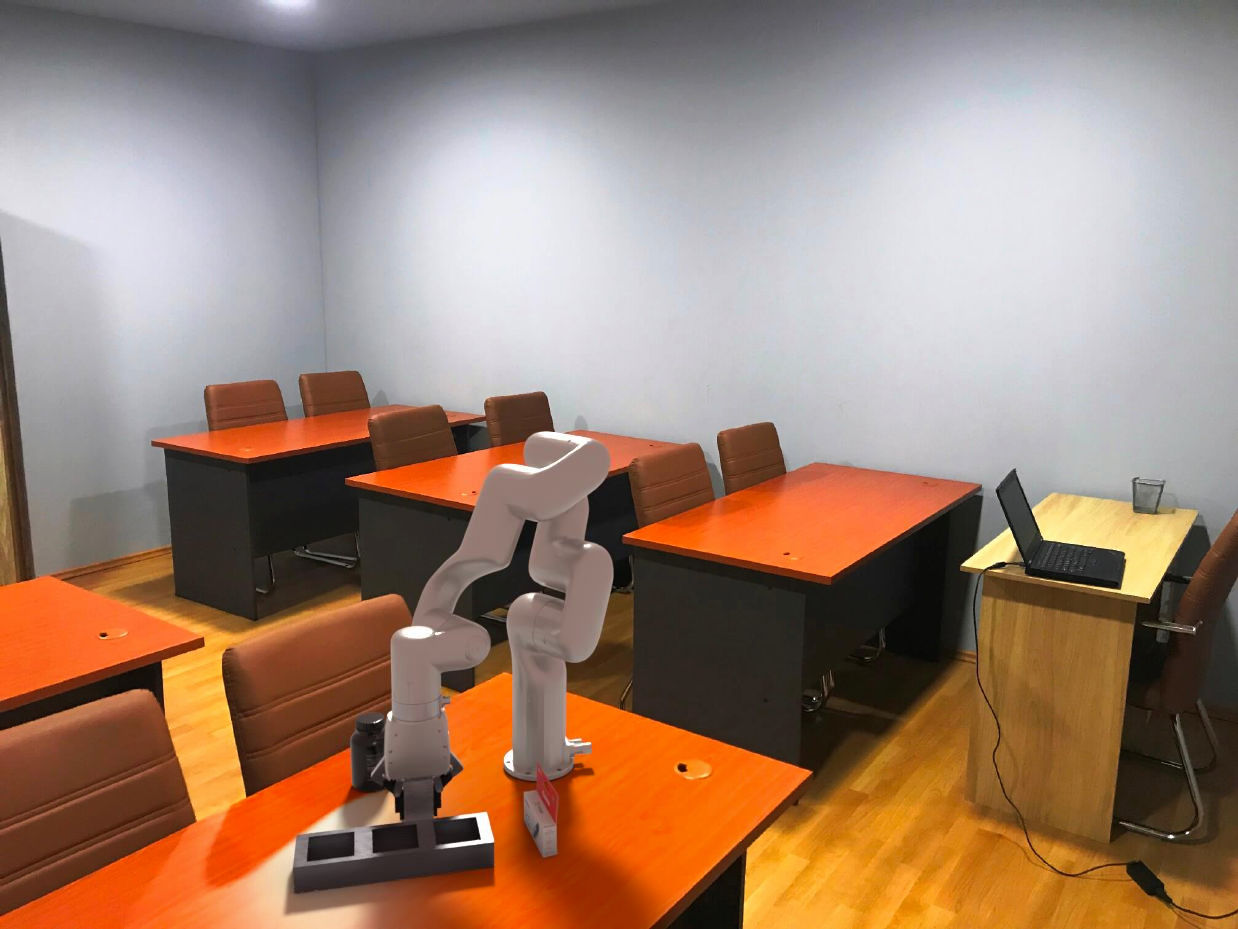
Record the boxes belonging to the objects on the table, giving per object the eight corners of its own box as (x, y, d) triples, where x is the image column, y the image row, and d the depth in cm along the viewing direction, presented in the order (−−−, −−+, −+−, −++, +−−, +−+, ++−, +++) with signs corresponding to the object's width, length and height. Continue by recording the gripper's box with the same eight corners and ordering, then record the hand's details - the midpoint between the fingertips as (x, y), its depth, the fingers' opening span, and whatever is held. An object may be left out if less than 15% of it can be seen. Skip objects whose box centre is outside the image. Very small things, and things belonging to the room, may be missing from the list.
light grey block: (431, 812, 155) (431, 766, 154) (433, 826, 151) (433, 779, 150) (403, 815, 154) (402, 769, 153) (404, 830, 150) (403, 783, 148)
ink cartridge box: (542, 859, 143) (542, 798, 141) (522, 821, 153) (523, 764, 152) (558, 855, 144) (559, 795, 142) (537, 818, 154) (538, 762, 152)
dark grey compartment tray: (486, 835, 149) (486, 812, 148) (494, 867, 141) (494, 842, 140) (297, 859, 141) (296, 834, 141) (293, 894, 133) (292, 867, 133)
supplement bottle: (398, 775, 167) (396, 710, 165) (384, 794, 160) (383, 727, 158) (360, 772, 168) (358, 708, 166) (345, 792, 161) (343, 725, 159)
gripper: (468, 692, 155) (468, 796, 158) (360, 701, 151) (363, 808, 154) (473, 711, 148) (474, 820, 151) (360, 721, 143) (363, 833, 146)
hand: (418, 813), depth 152 cm, fingers closed on light grey block, 4 cm apart
